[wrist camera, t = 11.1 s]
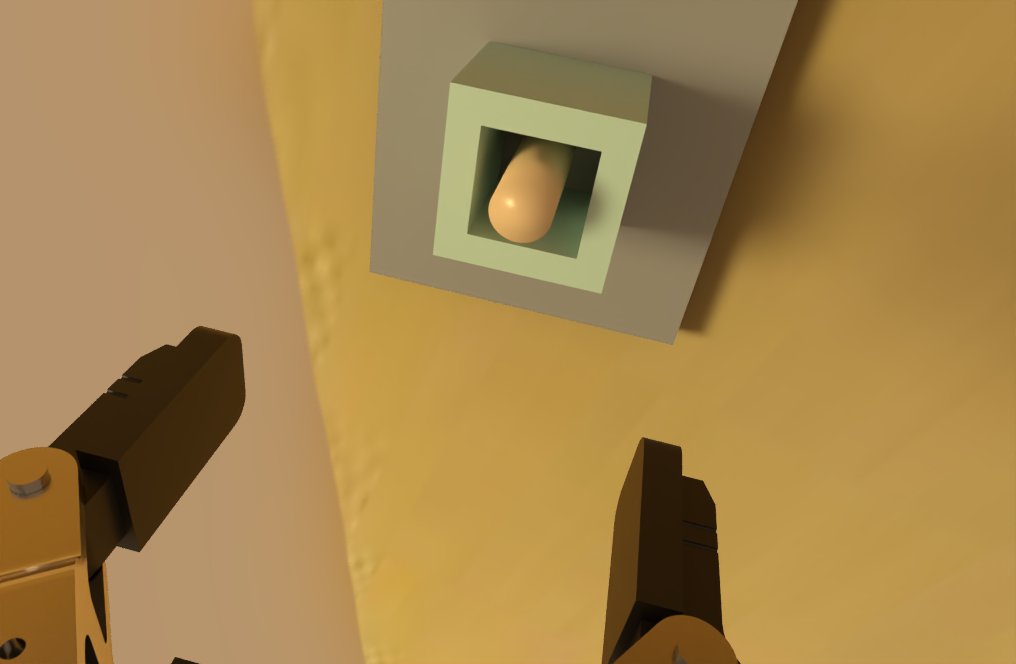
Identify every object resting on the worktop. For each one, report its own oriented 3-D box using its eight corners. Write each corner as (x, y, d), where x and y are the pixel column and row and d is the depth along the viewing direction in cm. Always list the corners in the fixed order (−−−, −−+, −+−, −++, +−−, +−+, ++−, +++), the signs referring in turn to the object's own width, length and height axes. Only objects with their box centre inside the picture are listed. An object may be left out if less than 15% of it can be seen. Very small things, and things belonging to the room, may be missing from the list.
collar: (489, 41, 26) (450, 82, 22) (652, 75, 26) (646, 124, 21) (469, 192, 30) (432, 254, 25) (613, 224, 29) (601, 293, 25)
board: (401, -146, 24) (298, -142, 18) (813, -64, 23) (868, -27, 17) (378, 259, 34) (304, 362, 27) (673, 329, 33) (671, 454, 26)
